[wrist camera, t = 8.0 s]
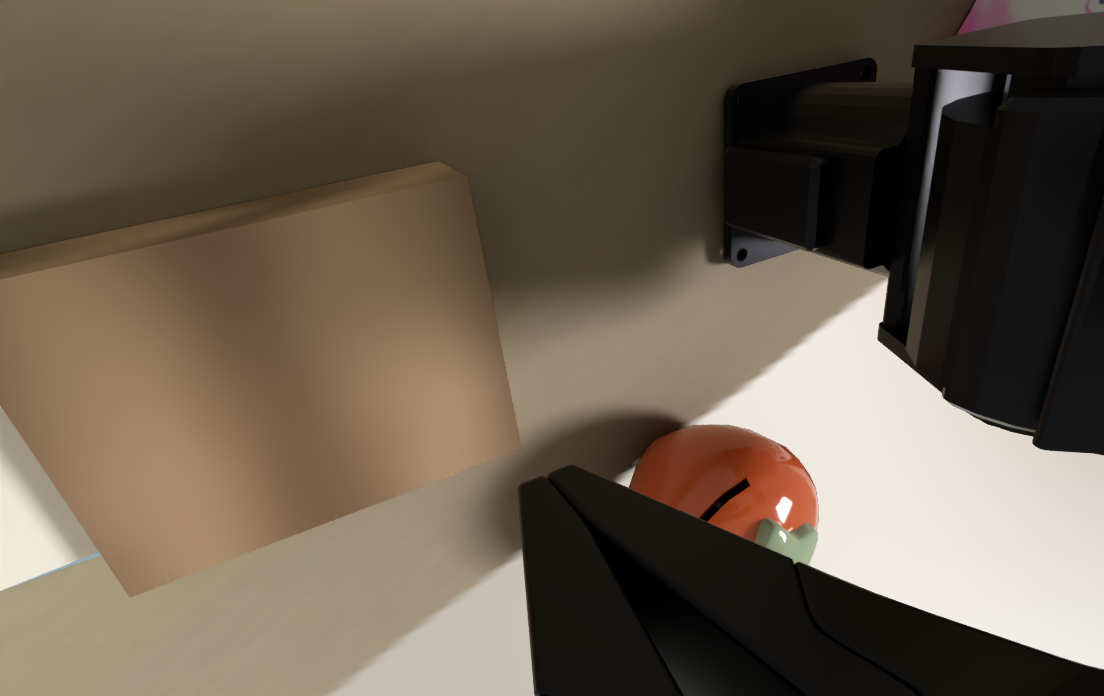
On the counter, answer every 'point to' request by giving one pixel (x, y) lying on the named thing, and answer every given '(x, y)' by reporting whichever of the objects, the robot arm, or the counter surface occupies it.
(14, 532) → the white rectangular block
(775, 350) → the counter surface
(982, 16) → the gum box
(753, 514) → the tomato
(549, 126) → the counter surface
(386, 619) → the counter surface
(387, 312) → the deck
